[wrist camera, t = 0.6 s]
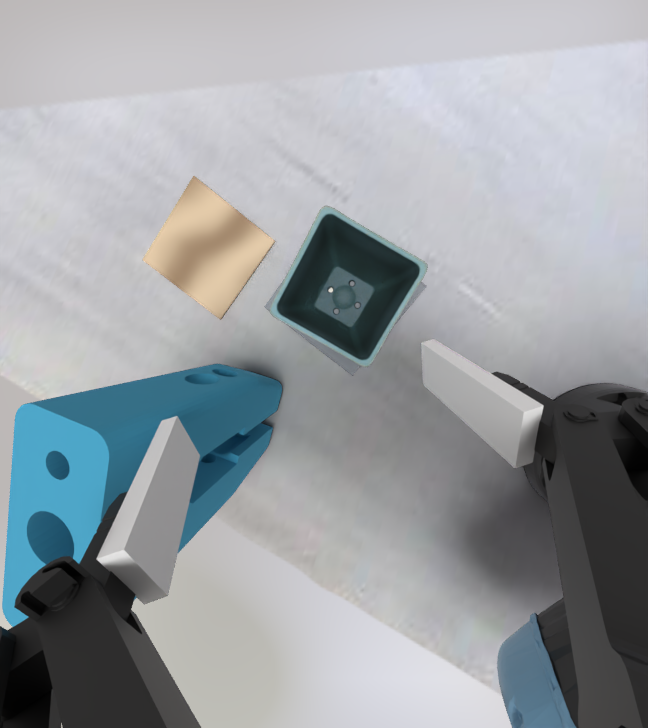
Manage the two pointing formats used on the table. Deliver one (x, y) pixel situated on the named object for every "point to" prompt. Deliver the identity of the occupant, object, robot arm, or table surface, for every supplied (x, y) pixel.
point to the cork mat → (208, 248)
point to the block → (124, 458)
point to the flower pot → (347, 286)
